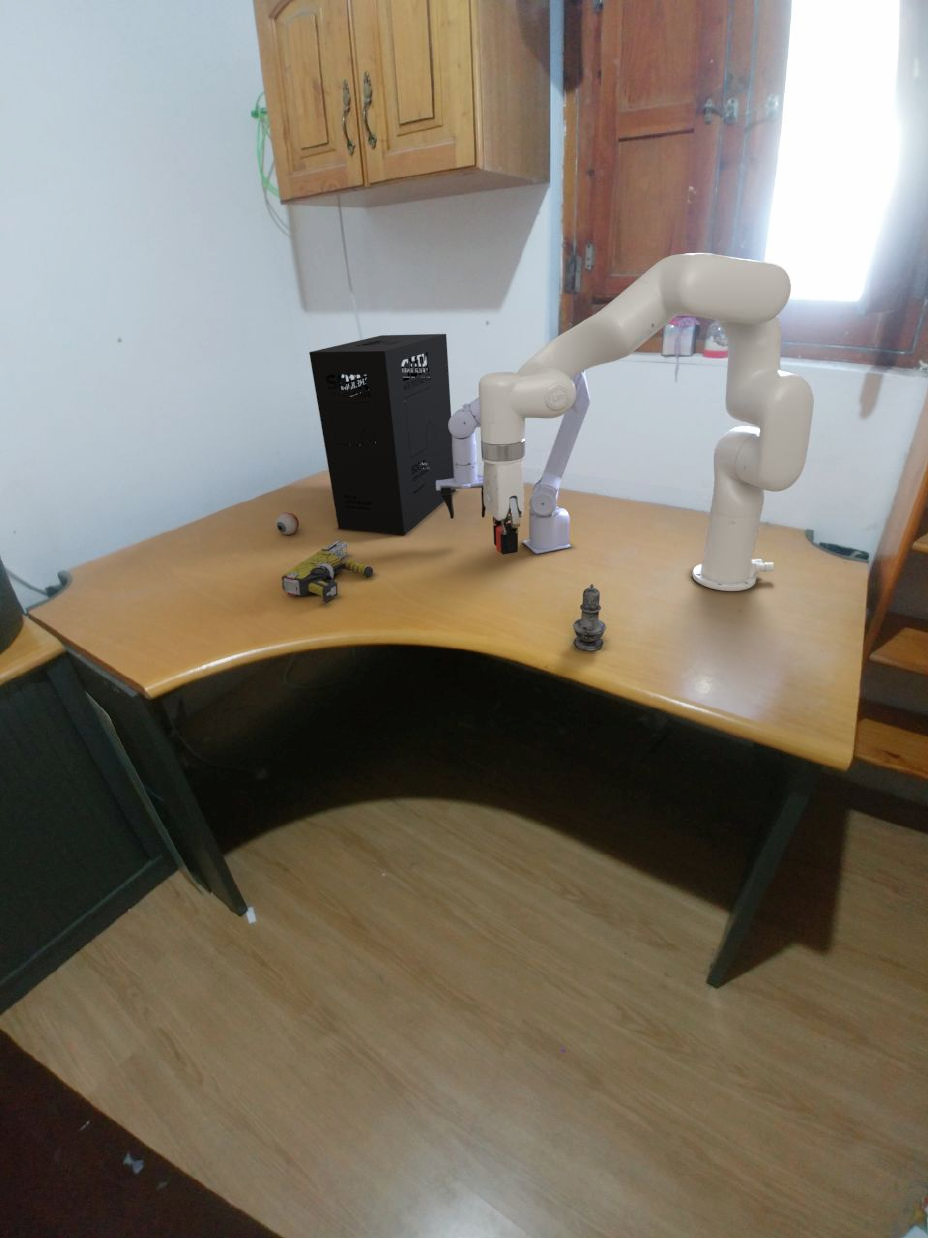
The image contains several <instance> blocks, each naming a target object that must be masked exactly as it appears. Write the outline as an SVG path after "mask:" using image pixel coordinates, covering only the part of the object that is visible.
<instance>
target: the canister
mask: <svg viewBox="0 0 928 1238" xmlns="http://www.w3.org/2000/svg"><path fill="white" fill-rule="evenodd" d="M506 526H507V525H506ZM501 533H502V525H500V526H498V527H496V552H497V553H499V554H502V553H501V543H500V534H501Z"/></svg>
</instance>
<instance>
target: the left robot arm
mask: <svg viewBox="0 0 928 1238" xmlns="http://www.w3.org/2000/svg"><path fill="white" fill-rule="evenodd" d="M585 371H586V370H584V371H582V372H580V373H578V374H577V375H575V376H574V377H572V378H571V379H572V381H573V383H574V385H575V388H576V398H575V401H574V404H573V406H572V407H571V408H570V410H569V411H568V412H566V413H565V414H563V415H562V416H563V417H562V419H561V422H560V424H559V427H558V429H557V433H556V436H555V439H554V442H553V444H552V447H551V450H550V452H549V454H548V455H549V456H548V459H547V461H546V464H545V467H544V470H543V473H542V475H541V477H540V479H539V480H537V482H536V483H535V484H534V486H533V488H532V494H531V496H530V498H529V503H528V504H529V509H528V511H529V512H528V513H529V514H528V539H524V540H523V541H522V543H523V544H524V545H525V546H526V547H527V548H528V549H530V550H531V551H532V552H533V553H534V554H537V555H538V554H542V553H548V552H552V551H558V550H564V549H568V548H571V544H570V535H571V534H570V533H571V532H570V531H571V519H570V514H569V512H568V511H567V509H566V508H563V507H561V508H560V507H559V506H558V504H557V503H558V497H559V494H560V489H559V488H560V485H561V482H562V478H563V476H564V474H565V471H566V468H567V465H568V464H569V463H568V462H569V460H570V457H571V455H572V451H573V450H574V448H575V447H574V446H575V444H576V442H577V438H578V436H579V433H580V431H581V429H582V425H583V423H584V420H585V417H586V415H587V412H588V410H589V406H590V403H591V395H590V390H589V386H588V381H587V377H586V372H585ZM448 427H449V431H450V433H451V434H452V454H453V470H454V478H453V479H446V480H436V490H441V496H442V498H443V499H444V501H443V502H444V503H445V505H446V507H447V510H448V513H449V516H450V519H454V518H455V510H454V509H455V508H454V503H453V493H452V489H456V490H464V489H465V490H466V489H480V491H481V493H480V494H481V518H485V516H486V510H487V509H486V507H485V506H484V500H483V477H479V475H478V474H479V473H478V455H477V453H478V452H477V441H476V428H480V406H479V396H477V398H475V399H473V400H471V402H469V403H468V402H465V403H463V405H462V408H459V409H457V410H456V411H455V412H454V413H453V414H451V418H450V420H449V423H448Z"/></svg>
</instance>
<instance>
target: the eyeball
mask: <svg viewBox="0 0 928 1238" xmlns="http://www.w3.org/2000/svg"><path fill="white" fill-rule="evenodd" d="M299 525H300V522H299V519H298V517H297V516H296V515H295V514H294V513H292V512H287V511H286V512H282V513H280V514H279V515H278V516H277V517H276V520H275V527H276V529H277V530H278V531H279V532H280V533H281V534H282V535H285V536H286V535H287V536H289V535H293V534H295V533H296V532H297V531H298V529H299Z"/></svg>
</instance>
